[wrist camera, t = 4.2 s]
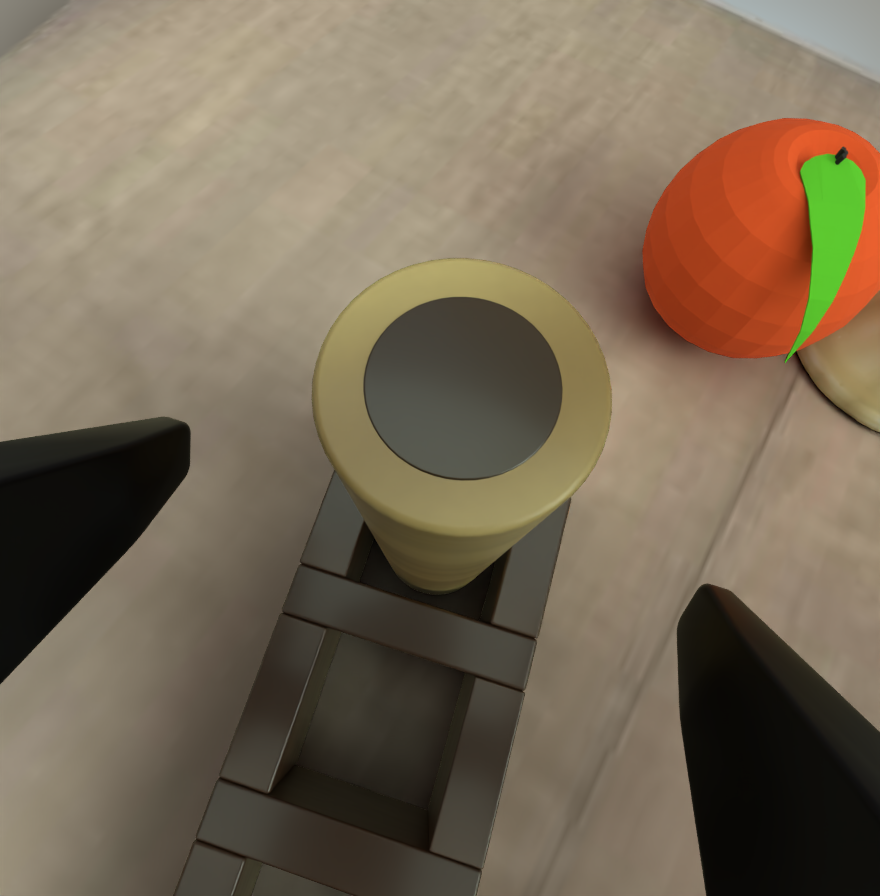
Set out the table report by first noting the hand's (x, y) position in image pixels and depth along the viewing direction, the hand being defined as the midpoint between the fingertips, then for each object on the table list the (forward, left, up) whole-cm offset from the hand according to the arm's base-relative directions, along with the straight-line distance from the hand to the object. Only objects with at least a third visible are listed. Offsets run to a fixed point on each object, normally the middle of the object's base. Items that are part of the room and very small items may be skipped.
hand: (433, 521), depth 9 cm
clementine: (+3, -13, -9) cm, 16 cm away
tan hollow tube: (+1, -1, -8) cm, 9 cm away
